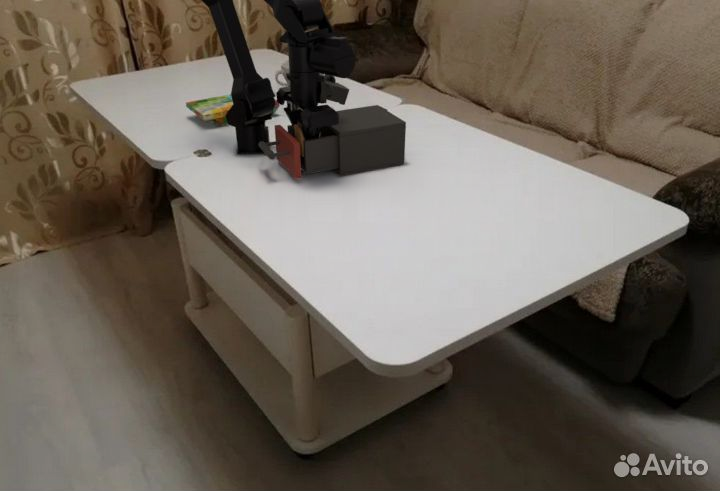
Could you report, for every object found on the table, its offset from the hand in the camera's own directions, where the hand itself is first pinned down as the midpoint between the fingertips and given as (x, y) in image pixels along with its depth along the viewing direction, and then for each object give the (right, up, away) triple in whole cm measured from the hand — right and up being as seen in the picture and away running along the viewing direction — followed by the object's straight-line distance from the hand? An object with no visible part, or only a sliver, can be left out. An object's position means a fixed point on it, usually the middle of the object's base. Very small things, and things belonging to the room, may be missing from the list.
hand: (307, 147), depth 120 cm
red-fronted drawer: (0, -3, +2) cm, 4 cm away
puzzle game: (-21, +13, +31) cm, 40 cm away
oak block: (0, -1, 0) cm, 1 cm away
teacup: (-6, +24, +50) cm, 56 cm away
